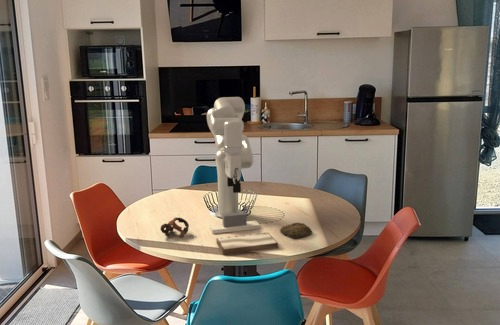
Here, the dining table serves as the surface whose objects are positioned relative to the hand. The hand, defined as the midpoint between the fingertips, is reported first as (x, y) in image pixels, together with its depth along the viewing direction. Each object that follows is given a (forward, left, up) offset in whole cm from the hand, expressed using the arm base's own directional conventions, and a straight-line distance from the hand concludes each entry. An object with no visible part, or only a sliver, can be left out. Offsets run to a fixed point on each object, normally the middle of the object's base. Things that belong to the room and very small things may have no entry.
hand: (234, 189), depth 202 cm
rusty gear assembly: (0, -26, -18) cm, 32 cm away
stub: (0, 0, -18) cm, 18 cm away
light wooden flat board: (+20, 0, -18) cm, 27 cm away
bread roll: (+13, +24, -18) cm, 33 cm away
